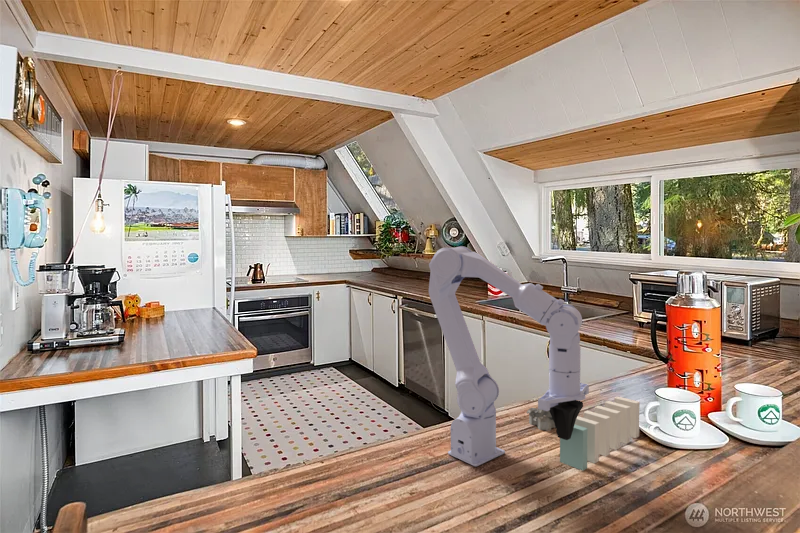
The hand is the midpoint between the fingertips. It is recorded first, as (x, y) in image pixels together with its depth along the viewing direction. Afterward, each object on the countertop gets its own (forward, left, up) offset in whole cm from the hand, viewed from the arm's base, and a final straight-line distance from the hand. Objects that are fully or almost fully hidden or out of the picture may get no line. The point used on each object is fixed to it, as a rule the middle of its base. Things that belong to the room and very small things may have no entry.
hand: (564, 437), depth 94 cm
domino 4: (+17, 0, -7) cm, 18 cm away
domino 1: (+3, 0, -7) cm, 7 cm away
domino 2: (+8, 0, -7) cm, 10 cm away
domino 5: (+21, 0, -7) cm, 22 cm away
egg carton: (+19, +15, -7) cm, 25 cm away
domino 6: (+26, 0, -7) cm, 27 cm away
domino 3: (+12, 0, -7) cm, 14 cm away
